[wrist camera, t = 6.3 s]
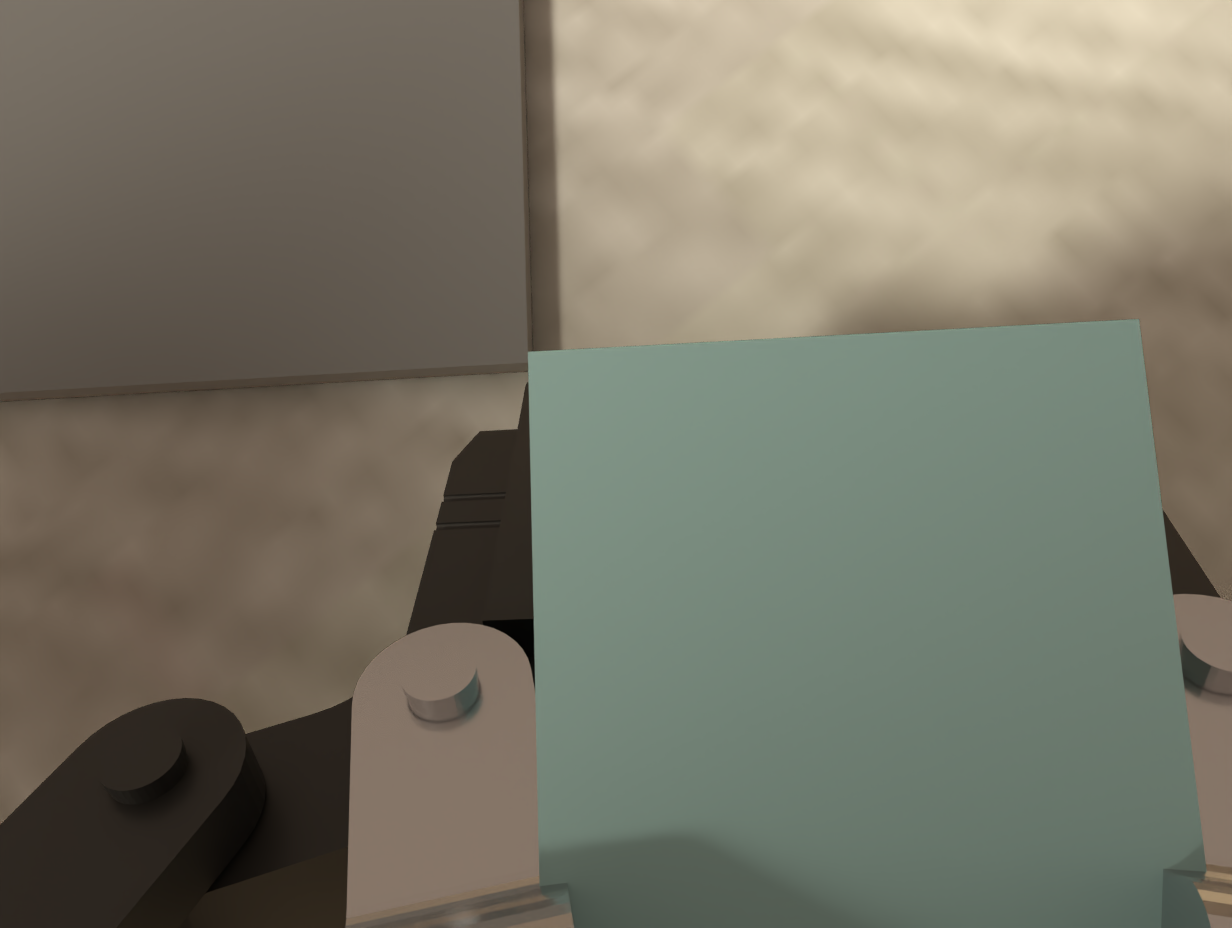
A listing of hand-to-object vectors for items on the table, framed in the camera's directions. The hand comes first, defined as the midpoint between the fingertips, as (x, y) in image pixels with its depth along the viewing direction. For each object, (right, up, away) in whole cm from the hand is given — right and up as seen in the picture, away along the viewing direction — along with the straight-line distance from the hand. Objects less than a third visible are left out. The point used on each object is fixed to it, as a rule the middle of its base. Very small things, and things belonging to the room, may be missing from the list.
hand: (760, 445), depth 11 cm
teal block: (0, -3, +4) cm, 5 cm away
